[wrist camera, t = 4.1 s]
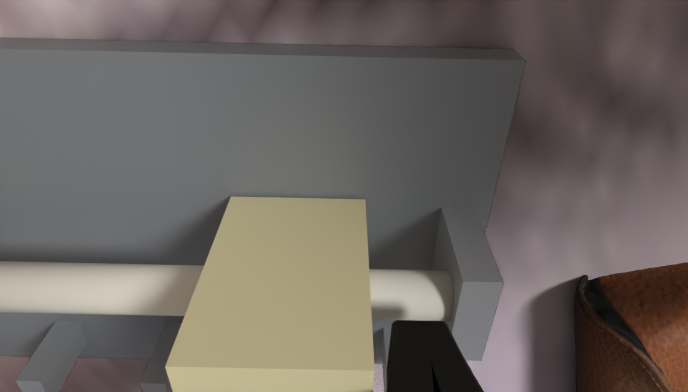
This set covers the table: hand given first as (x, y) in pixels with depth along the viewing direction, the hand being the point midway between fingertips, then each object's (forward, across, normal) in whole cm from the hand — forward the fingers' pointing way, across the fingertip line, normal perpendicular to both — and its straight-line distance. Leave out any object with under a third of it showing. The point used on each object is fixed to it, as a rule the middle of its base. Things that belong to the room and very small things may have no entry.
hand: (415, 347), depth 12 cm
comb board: (+5, +8, 0) cm, 9 cm away
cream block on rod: (+4, +3, 0) cm, 5 cm away
